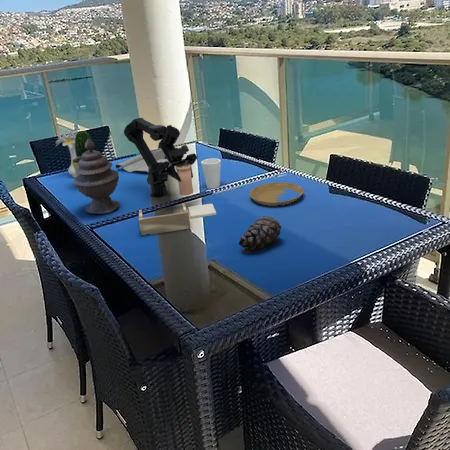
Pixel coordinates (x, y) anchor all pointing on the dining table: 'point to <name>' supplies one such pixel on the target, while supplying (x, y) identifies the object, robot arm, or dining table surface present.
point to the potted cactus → (80, 147)
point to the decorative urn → (96, 180)
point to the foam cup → (211, 172)
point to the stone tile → (201, 210)
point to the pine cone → (260, 235)
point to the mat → (136, 164)
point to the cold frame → (164, 222)
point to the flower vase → (70, 142)
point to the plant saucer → (273, 193)
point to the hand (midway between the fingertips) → (186, 179)
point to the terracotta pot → (185, 179)
